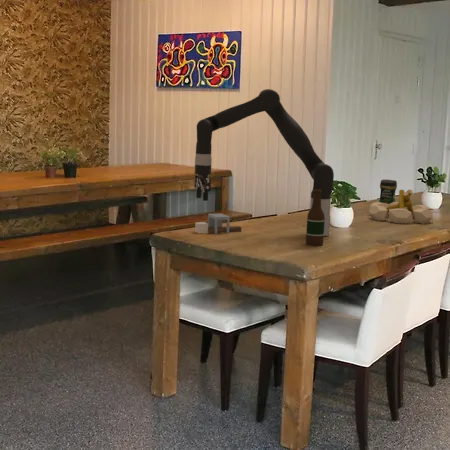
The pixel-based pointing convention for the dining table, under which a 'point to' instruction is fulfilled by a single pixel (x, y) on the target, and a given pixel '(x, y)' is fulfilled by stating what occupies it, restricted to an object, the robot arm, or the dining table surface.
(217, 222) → the tunnel
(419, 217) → the campfire
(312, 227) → the beer bottle
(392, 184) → the coffee jar
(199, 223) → the block
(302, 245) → the dining table surface
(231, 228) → the bar
